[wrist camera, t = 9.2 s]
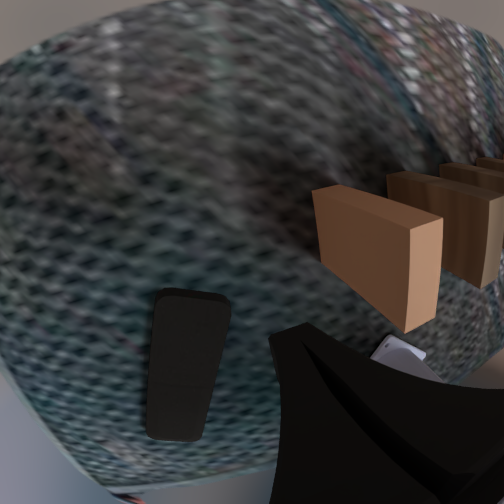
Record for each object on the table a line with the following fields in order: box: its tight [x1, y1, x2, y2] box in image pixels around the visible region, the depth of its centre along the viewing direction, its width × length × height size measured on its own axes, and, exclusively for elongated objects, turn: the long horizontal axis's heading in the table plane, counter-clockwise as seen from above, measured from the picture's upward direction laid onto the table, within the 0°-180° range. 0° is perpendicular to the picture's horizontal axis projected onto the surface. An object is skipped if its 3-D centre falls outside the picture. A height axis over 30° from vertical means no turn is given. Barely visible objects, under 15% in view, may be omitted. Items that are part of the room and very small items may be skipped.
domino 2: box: [386, 171, 504, 289], centre depth 16 cm, size 2×5×9 cm, turn 13°
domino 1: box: [312, 185, 443, 334], centre depth 15 cm, size 2×5×9 cm, turn 13°
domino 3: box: [439, 162, 504, 249], centre depth 17 cm, size 2×5×9 cm, turn 12°
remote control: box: [146, 288, 231, 442], centre depth 21 cm, size 5×2×15 cm
